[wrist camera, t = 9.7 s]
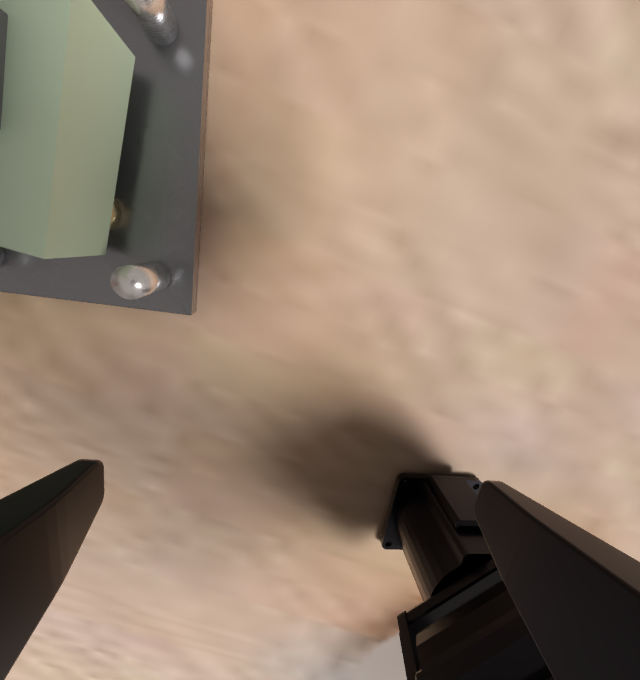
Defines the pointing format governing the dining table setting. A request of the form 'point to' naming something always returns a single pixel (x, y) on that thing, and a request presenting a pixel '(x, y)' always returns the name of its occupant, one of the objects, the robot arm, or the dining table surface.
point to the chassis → (145, 172)
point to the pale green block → (60, 126)
